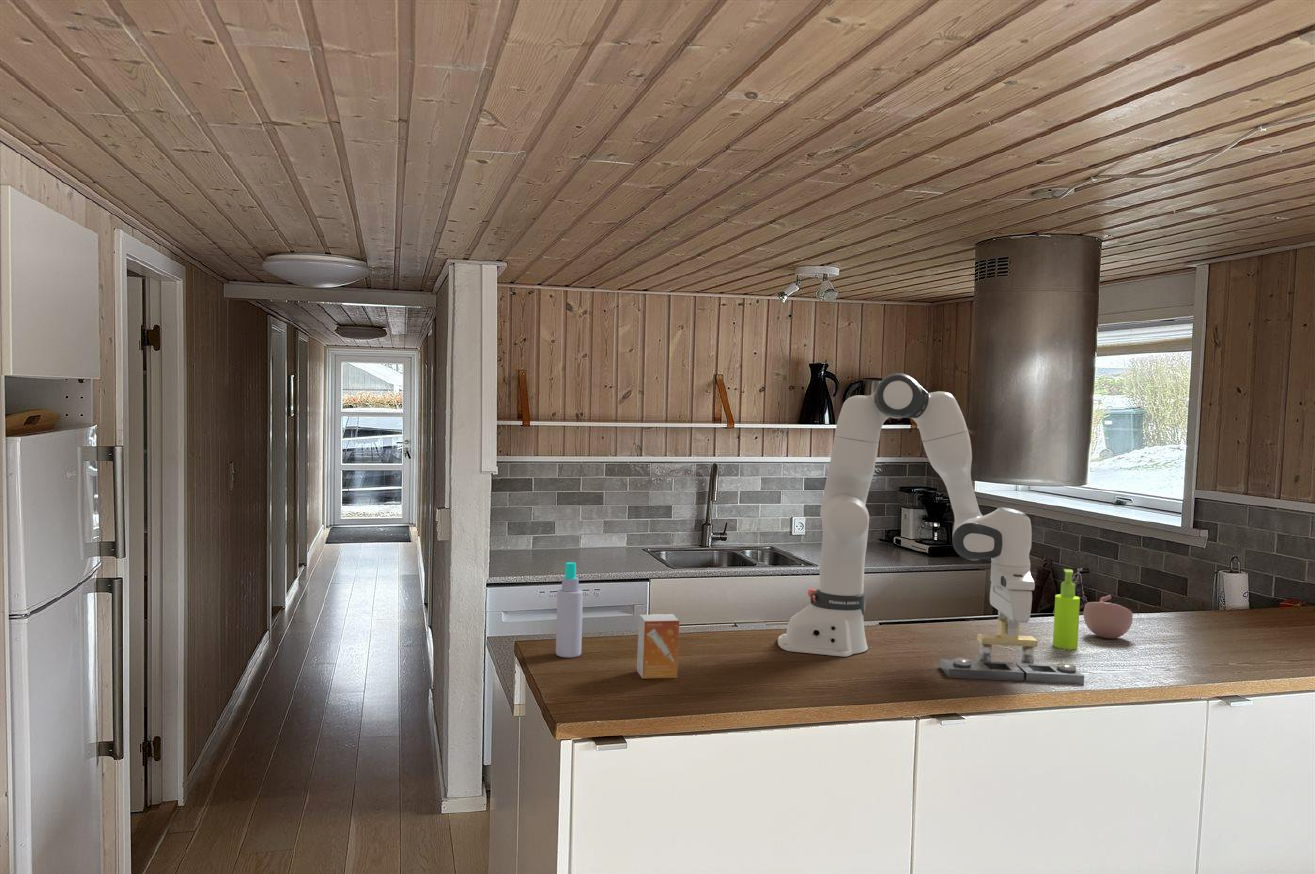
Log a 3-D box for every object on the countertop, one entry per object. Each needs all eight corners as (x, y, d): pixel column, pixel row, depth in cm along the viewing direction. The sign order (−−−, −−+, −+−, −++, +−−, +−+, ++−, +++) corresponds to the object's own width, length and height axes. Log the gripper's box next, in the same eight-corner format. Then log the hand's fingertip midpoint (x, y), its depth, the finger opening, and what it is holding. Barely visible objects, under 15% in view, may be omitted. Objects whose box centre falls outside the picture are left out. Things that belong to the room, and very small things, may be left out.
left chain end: (948, 677, 211) (948, 664, 210) (940, 667, 219) (940, 654, 218) (1023, 681, 209) (1024, 668, 209) (1012, 670, 217) (1013, 658, 217)
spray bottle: (577, 659, 216) (579, 566, 215) (552, 657, 217) (554, 564, 216) (584, 652, 222) (586, 561, 221) (560, 650, 223) (562, 560, 222)
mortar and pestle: (1133, 636, 254) (1135, 595, 253) (1128, 646, 243) (1131, 603, 243) (1085, 629, 260) (1087, 589, 259) (1079, 638, 250) (1081, 596, 249)
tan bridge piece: (980, 664, 222) (982, 621, 221) (976, 659, 226) (978, 617, 225) (1036, 667, 221) (1038, 623, 220) (1030, 662, 225) (1032, 619, 224)
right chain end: (1026, 681, 209) (1026, 668, 209) (1015, 670, 217) (1015, 658, 217) (1083, 684, 208) (1084, 671, 208) (1070, 673, 216) (1071, 661, 216)
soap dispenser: (1075, 643, 244) (1079, 568, 243) (1078, 650, 238) (1082, 573, 237) (1051, 641, 246) (1055, 566, 245) (1053, 647, 239) (1057, 571, 239)
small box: (642, 679, 202) (644, 620, 202) (636, 671, 209) (638, 613, 208) (678, 678, 204) (680, 619, 204) (671, 669, 210) (673, 613, 210)
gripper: (984, 567, 233) (982, 621, 234) (1009, 583, 213) (1006, 642, 213) (1010, 568, 233) (1007, 622, 233) (1037, 584, 212) (1034, 644, 213)
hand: (1007, 632), depth 223 cm, fingers closed on tan bridge piece, 4 cm apart
